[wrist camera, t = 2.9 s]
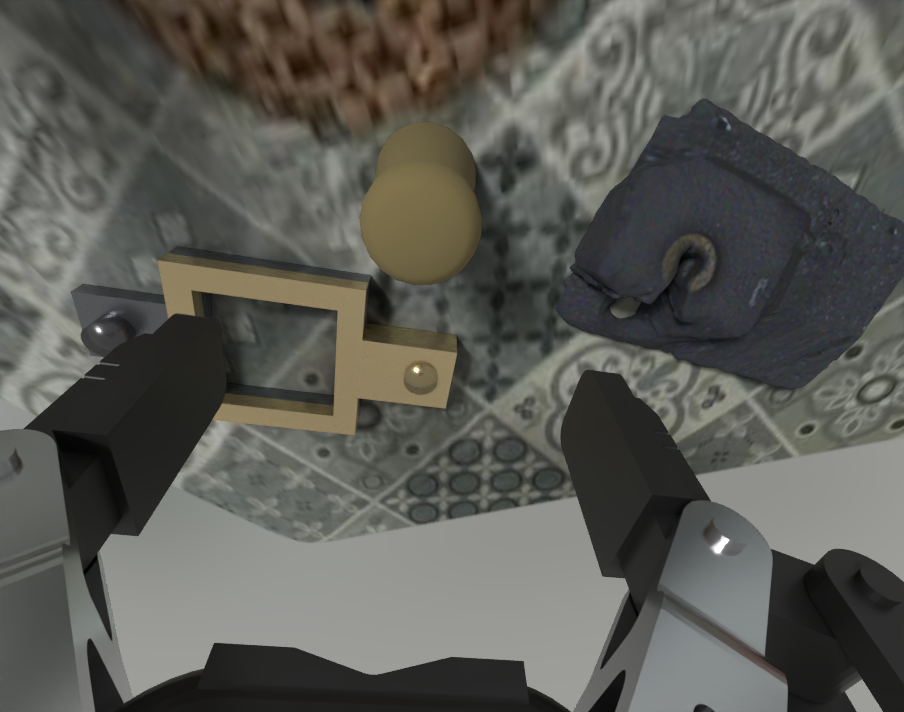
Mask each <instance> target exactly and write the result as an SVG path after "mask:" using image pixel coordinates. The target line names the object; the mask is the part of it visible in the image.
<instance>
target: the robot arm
mask: <svg viewBox="0 0 904 712" xmlns="http://www.w3.org/2000/svg"><path fill="white" fill-rule="evenodd" d="M225 392H226V370H225V361H224V353H223V344H222V335H221V328H220V324H219V322H218V320H217V319H215V318H209V317H201V316H194V315H187V314H179V313H176V314H173V315H172V316H171V317H170V318H169V319H168V320H167V321H166V322H164V323H163V324H162V325H161V326H160V327H159V328H158V329H157V330H156V331H155V332H154V333H153V334H147V333H144V334H142V335H139V336H137V337H135V338H133V339H131V340H129V341H126V342H124V343H122V344H120V345H118V346H117V347H116V348H114V349H113V350H112V351H111V352H110V353H109V354H108V355H107V356H105V357H104V358H103V359H102V360H101V361H100V365H95V366H94V367H93V368H92V369H91V370H90V371H88V372H87V373H86V374H85V378H84V379H83V378H81V379H79V380H78V381H77V382H76V383H75V384H74V385H73V386H71V387H70V388H69V389H68V390H67V391H66V392H65V393H64V394H62V395H61V396H60V397H59V398H58V399H57V400H56V401H54V402H53V403H52V404H51V405H50V406H49V407H48V408H47V409H45V410H44V411H43V412H42V413H41V414H40V415H39V416H37V417H36V418H35V419H34V420H33V421H32V422H31V423H30V424H28V425H27V426H26V427H25V428H24V429H12V430H3V431H0V712H570V711H569V710H568V709H567V708H565V707H564V706H562V705H561V704H559V703H558V702H556V701H555V700H554V699H552V698H550V697H548V696H547V695H545V694H543V693H541V692H539V691H537V690H535V689H533V688H530V687H527V683H526V676H525V669H524V662H523V661H510V660H494V659H477V658H461V657H450V658H446V659H441V660H437V661H433V662H429V663H425V664H421V665H416V666H412V667H409V668H404V669H400V670H396V671H392V672H387V673H384V674H378V675H369V674H365V673H362V672H359V671H356V670H354V669H351V668H348V667H346V666H343V665H340V664H337V663H335V662H332V661H329V660H327V659H324V658H321V657H319V656H316V655H313V654H310V653H307V652H305V651H302V650H300V649H297V648H291V647H274V646H258V645H241V644H224V643H214V645H213V647H212V650H211V652H210V655H209V658H208V660H207V663H206V665H205V668H204V669H201V670H196V671H192V672H189V673H186V674H183V675H180V676H178V677H175V678H172V679H169V680H167V681H165V682H163V683H161V684H158V685H157V686H154V687H152V688H150V689H148V690H146V691H144V692H142V693H141V694H139V695H137V696H136V697H134V698H133V696H132V693H131V688H130V685H129V682H128V678H127V675H126V672H125V669H124V665H123V662H122V658H121V654H120V649H119V645H118V640H117V635H116V629H115V624H114V619H113V614H112V609H111V603H110V598H109V593H108V588H107V583H106V578H105V573H104V568H103V562H102V558H101V555H100V553H99V550H100V549H101V547H102V546H103V544H104V543H105V541H106V540H107V538H108V537H109V535H110V534H120V535H131V536H139V534H140V533H141V531H142V529H143V528H144V526H145V525H146V523H147V522H148V520H149V518H150V517H151V515H152V514H153V512H154V510H155V509H156V507H157V506H158V504H159V503H160V501H161V499H162V498H163V496H164V495H165V493H166V492H167V490H168V488H169V487H170V485H171V484H172V482H173V481H174V479H175V478H176V476H177V474H178V473H179V471H180V470H181V468H182V467H183V465H184V463H185V462H186V460H187V459H188V457H189V455H190V454H191V452H192V451H193V449H194V448H195V446H196V444H197V443H198V441H199V440H200V438H201V437H202V435H203V433H204V432H205V430H206V429H207V427H208V426H209V424H210V422H211V421H212V419H213V418H214V416H215V415H216V413H217V411H218V410H219V408H220V406H221V404H222V402H223V399H224V396H225ZM561 446H562V450H563V453H564V456H565V459H566V462H567V466H568V469H569V472H570V475H571V478H572V481H573V485H574V488H575V491H576V494H577V497H578V500H579V504H580V507H581V510H582V513H583V516H584V519H585V523H586V526H587V529H588V532H589V535H590V538H591V542H592V545H593V548H594V551H595V554H596V557H597V560H598V564H599V567H600V570H601V573H602V576H604V577H616V578H625V579H626V582H627V584H628V587H629V590H628V592H627V593H626V594H625V596H624V598H623V600H622V602H621V605H620V607H619V610H618V612H617V615H616V617H615V620H614V622H613V624H612V627H611V629H610V632H609V634H608V637H607V639H606V642H605V644H604V647H603V649H602V652H601V654H600V656H599V659H598V661H597V664H596V666H595V669H594V671H593V674H592V676H591V678H590V681H589V683H588V685H587V687H586V689H585V691H584V692H583V694H582V696H581V698H580V700H579V701H578V703H577V705H576V707H575V709H574V711H573V712H856V710H855V708H854V707H853V705H852V703H851V702H850V700H849V698H848V696H847V695H846V693H845V691H846V690H847V689H849V688H850V687H852V686H853V685H854V684H856V683H857V682H859V681H860V680H862V679H863V681H864V682H865V684H866V686H867V687H868V689H869V690H870V692H871V693H872V695H873V696H874V698H875V700H876V701H877V703H878V704H879V706H880V707H881V709H882V711H883V712H904V582H903V581H902V580H901V579H899V578H898V577H897V576H896V575H895V574H893V573H892V572H891V571H889V570H888V569H887V568H885V567H884V566H882V565H880V564H879V563H877V562H876V561H874V560H872V559H870V558H868V557H866V556H864V555H861V554H859V553H856V552H853V551H850V550H845V549H833V550H830V551H828V552H827V553H826V554H825V555H824V556H823V557H822V558H821V559H820V560H819V561H818V562H817V563H816V564H815V565H813V564H810V563H808V562H805V561H803V560H800V559H797V558H794V557H791V556H789V555H786V554H783V553H781V552H778V551H775V550H772V549H770V547H769V545H768V543H767V541H766V540H765V538H764V537H763V535H762V534H761V533H760V532H759V530H758V529H756V527H755V526H754V525H752V524H751V523H750V522H749V521H748V520H747V519H746V518H744V517H743V516H741V515H740V514H738V513H737V512H735V511H734V510H732V509H730V508H728V507H726V506H724V505H721V504H718V503H715V502H711V500H710V499H709V497H708V496H707V494H706V492H705V491H704V489H703V488H702V486H701V484H700V483H699V481H698V479H697V478H696V476H695V474H694V473H693V471H692V470H691V468H690V466H689V465H688V463H687V461H686V460H685V458H684V457H683V455H682V453H681V452H680V450H677V445H676V444H675V442H674V440H673V439H672V437H671V435H668V431H667V429H666V427H665V426H664V424H663V422H662V421H661V419H660V418H659V416H658V414H656V413H655V412H654V411H653V410H652V409H651V408H650V407H649V406H648V405H647V404H645V403H644V402H643V401H642V400H641V399H640V398H635V397H634V395H633V394H632V392H631V390H630V389H629V387H628V385H627V383H626V382H625V380H624V378H623V377H622V376H621V375H620V374H615V373H608V372H600V371H593V370H586V371H585V372H584V373H583V374H582V376H581V378H580V380H579V382H578V385H577V387H576V390H575V392H574V395H573V397H572V400H571V402H570V405H569V407H568V410H567V412H566V415H565V417H564V420H563V423H562V427H561Z"/></svg>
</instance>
